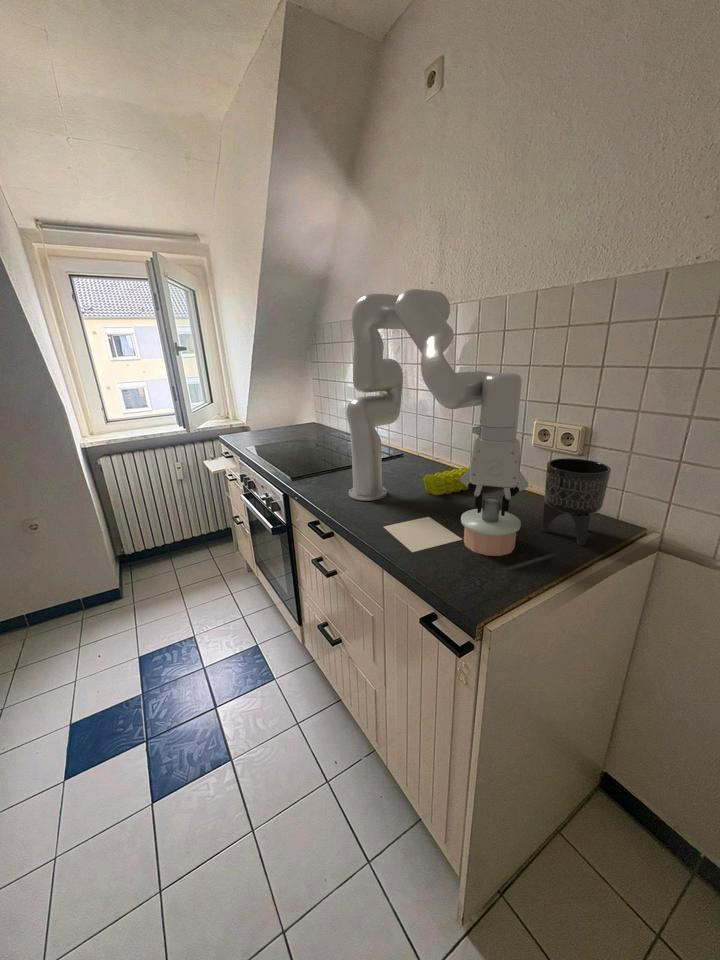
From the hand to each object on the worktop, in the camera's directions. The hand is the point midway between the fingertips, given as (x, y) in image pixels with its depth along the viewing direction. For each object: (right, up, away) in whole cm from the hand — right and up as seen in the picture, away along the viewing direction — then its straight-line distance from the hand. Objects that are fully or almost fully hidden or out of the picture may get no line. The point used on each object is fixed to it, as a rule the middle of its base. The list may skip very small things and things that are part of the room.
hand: (491, 511), depth 86 cm
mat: (-14, -7, +9) cm, 18 cm away
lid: (0, -3, +1) cm, 3 cm away
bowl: (0, -8, +3) cm, 9 cm away
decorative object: (+6, +4, +42) cm, 42 cm away
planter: (+21, -6, +7) cm, 23 cm away
